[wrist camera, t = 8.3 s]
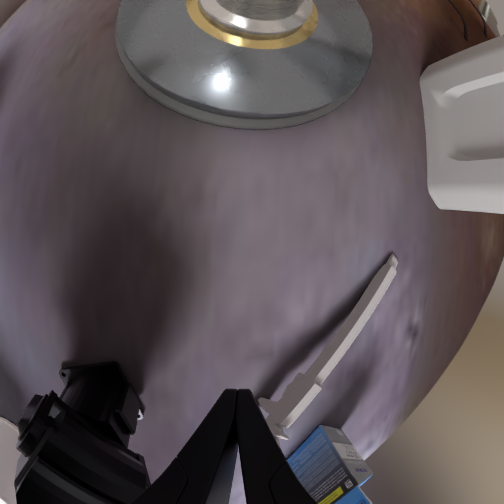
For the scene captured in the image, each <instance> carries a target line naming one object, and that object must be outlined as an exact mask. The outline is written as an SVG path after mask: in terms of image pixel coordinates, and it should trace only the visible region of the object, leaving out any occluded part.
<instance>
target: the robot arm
mask: <svg viewBox="0 0 504 504" xmlns="http://www.w3.org/2000/svg"><path fill="white" fill-rule="evenodd" d="M112 366H114V367H115V368H116V369H114V368H113V367H112ZM63 372H64V373H65V374H66V375H65V374H64V373H63ZM59 375H60V377H61V379H62V380H63V382H64V384H65V386H66V387H65V389H64V391H63V392H62V394H61V396H60V397H58V396H57V394H56V393H55V392H54V391H53V390H52V391H51V392H50V393H49V394H48V395H47V394H45V395H44V396H40V395H37V394H35V396H34V397H33V398H32V400H31V401H30V403H29V404H28V406H27V407H26V409H25V410H24V412H23V414H22V415H21V417H20V419H19V421H18V423H17V427H18V431H19V435H18V442H17V445H16V449H17V450H18V451H19V452H21V453H22V454H21V456H20V457H19V459H18V462H17V467H16V473H15V479H14V487H15V492H16V501H17V504H229V498H230V493H231V487H232V481H233V475H234V469H235V463H236V457H237V451H238V446H239V454H240V461H241V469H242V476H243V483H244V490H245V496H246V503H247V504H317V502H316V501H315V500H314V499H313V498H312V497H311V495H310V494H309V493H308V492H307V491H306V489H305V488H304V487H303V485H302V484H301V483H300V481H299V480H298V478H297V477H296V475H295V473H294V472H293V470H292V469H291V467H290V465H289V463H288V462H287V461H286V458H285V456H284V454H283V453H282V451H281V449H280V447H279V445H278V443H277V441H276V439H275V438H274V436H273V434H272V432H271V430H270V428H269V426H268V424H267V422H266V420H265V418H264V416H263V414H262V412H261V410H260V408H259V406H258V404H257V402H256V400H255V398H254V396H253V394H252V392H251V390H250V389H238V390H237V389H225V390H224V391H223V393H222V394H221V396H220V397H219V399H218V400H217V401H216V403H215V404H214V406H213V407H212V409H211V410H210V411H209V413H208V414H207V416H206V417H205V418H204V420H203V421H202V423H201V424H200V425H199V427H198V428H197V429H196V431H195V432H194V434H193V435H192V436H191V438H190V439H189V440H188V442H187V443H186V444H185V446H184V447H183V448H182V450H181V451H180V452H179V454H178V455H177V458H175V459H174V460H173V461H172V463H171V464H170V465H169V466H168V468H167V469H166V470H165V471H164V472H163V473H162V475H161V476H160V477H159V478H158V479H157V480H156V481H155V482H154V483H153V484H152V485H151V483H150V480H149V476H148V472H147V468H146V465H145V461H144V457H143V456H141V455H140V454H138V453H137V454H136V453H134V452H132V451H131V450H129V449H128V443H129V438H130V435H133V434H134V433H135V430H136V425H137V420H141V419H143V415H144V414H143V412H142V410H141V408H140V402H139V400H138V398H137V396H136V394H135V392H134V390H133V388H132V386H131V384H130V383H128V382H127V381H126V378H125V376H124V374H123V372H122V370H121V368H120V366H119V364H118V363H117V362H113V361H112V362H106V363H99V364H91V365H84V366H75V367H67V368H61V370H60V371H59ZM138 414H139V415H138Z"/></svg>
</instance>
